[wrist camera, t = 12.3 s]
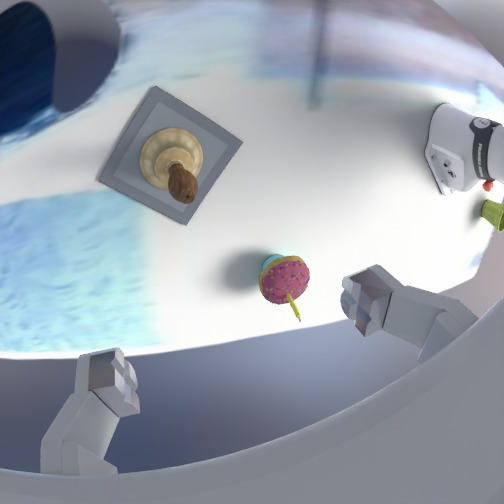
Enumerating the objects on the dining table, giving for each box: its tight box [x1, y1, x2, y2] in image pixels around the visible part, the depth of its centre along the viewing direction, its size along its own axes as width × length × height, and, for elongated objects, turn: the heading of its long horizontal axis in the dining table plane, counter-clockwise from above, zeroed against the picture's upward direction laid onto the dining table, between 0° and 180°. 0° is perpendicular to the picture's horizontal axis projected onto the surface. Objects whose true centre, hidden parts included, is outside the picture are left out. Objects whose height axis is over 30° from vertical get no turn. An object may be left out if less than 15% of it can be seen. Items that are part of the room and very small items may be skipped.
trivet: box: [99, 86, 243, 225], centre depth 34 cm, size 14×14×1 cm
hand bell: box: [140, 127, 203, 204], centre depth 28 cm, size 8×8×16 cm
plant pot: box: [482, 200, 504, 233], centre depth 64 cm, size 9×9×9 cm
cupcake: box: [259, 255, 310, 322], centre depth 44 cm, size 9×8×12 cm
